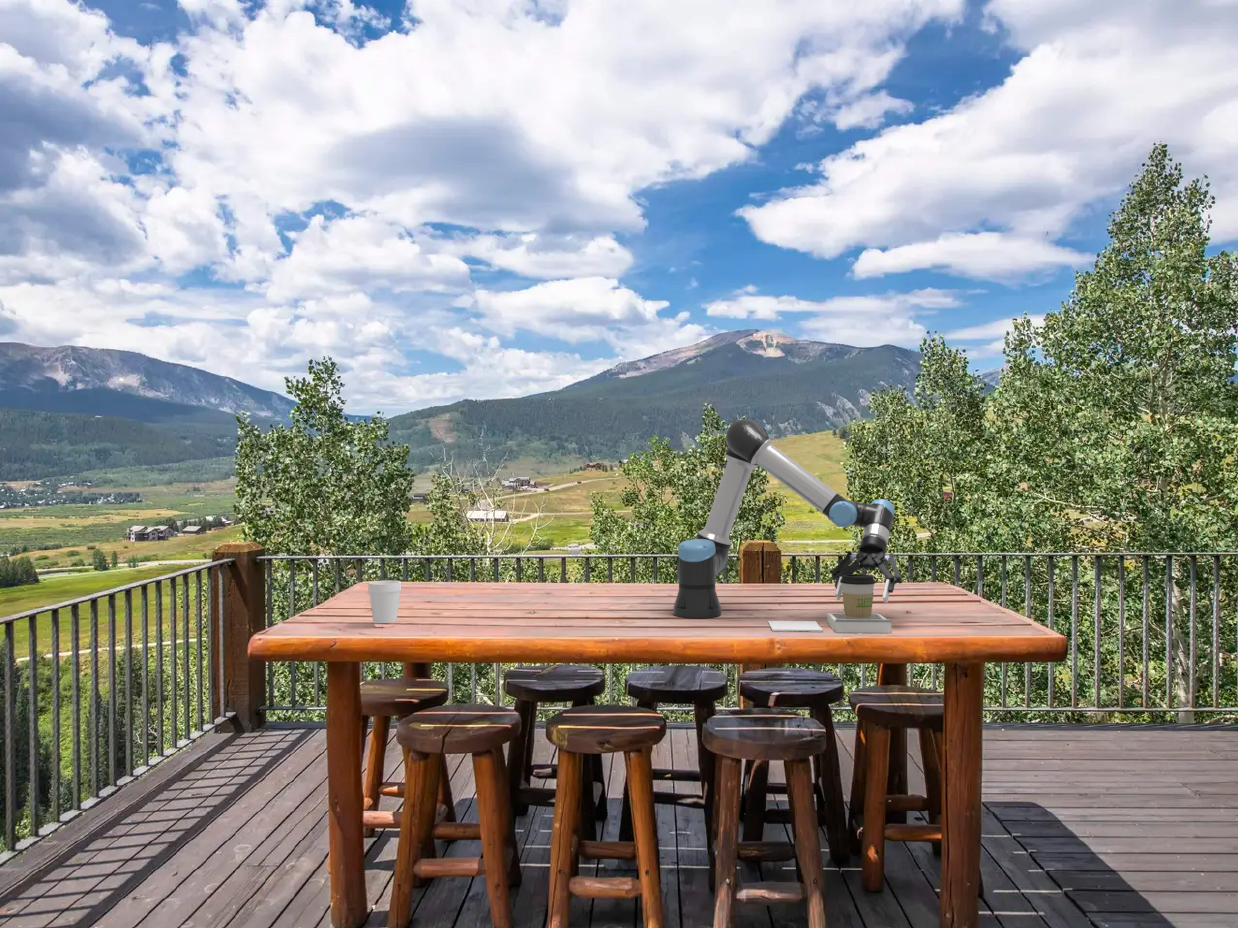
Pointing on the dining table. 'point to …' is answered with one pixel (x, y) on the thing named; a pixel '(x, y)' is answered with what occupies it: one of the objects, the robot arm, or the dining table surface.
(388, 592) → the foam cup
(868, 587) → the coffee cup
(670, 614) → the dining table surface
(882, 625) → the cup holder
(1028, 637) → the dining table surface
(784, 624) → the rubber mat
